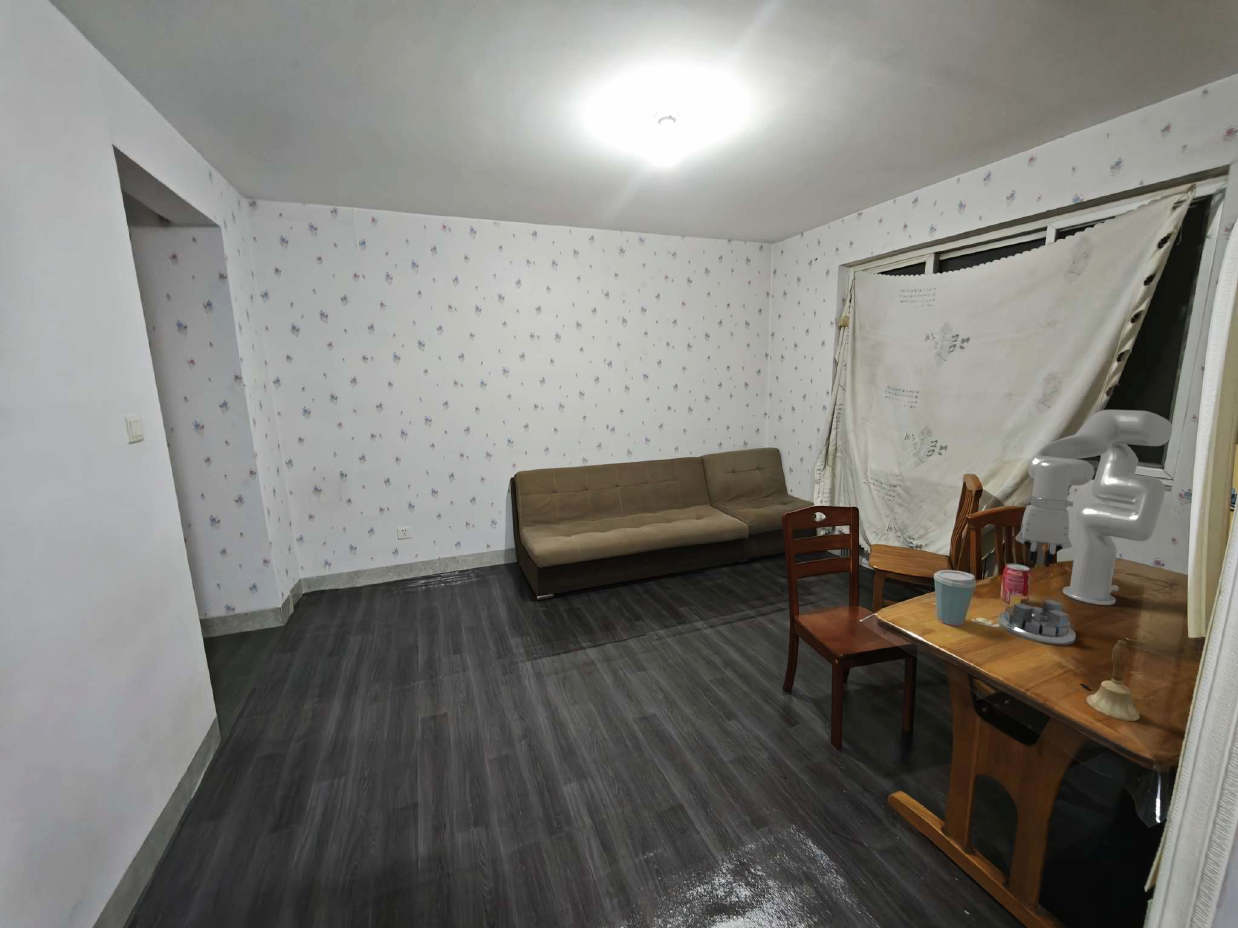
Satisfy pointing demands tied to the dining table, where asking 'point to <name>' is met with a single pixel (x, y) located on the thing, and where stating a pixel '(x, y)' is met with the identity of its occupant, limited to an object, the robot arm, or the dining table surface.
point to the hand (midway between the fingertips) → (1039, 564)
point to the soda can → (1015, 581)
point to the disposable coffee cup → (953, 595)
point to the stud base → (1033, 636)
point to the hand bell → (1115, 689)
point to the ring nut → (1022, 618)
